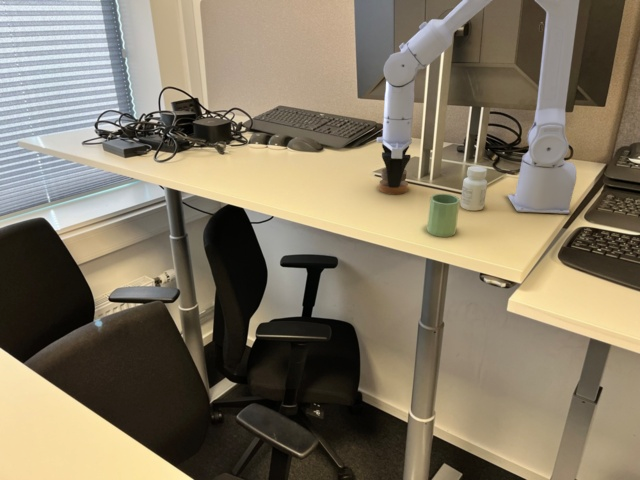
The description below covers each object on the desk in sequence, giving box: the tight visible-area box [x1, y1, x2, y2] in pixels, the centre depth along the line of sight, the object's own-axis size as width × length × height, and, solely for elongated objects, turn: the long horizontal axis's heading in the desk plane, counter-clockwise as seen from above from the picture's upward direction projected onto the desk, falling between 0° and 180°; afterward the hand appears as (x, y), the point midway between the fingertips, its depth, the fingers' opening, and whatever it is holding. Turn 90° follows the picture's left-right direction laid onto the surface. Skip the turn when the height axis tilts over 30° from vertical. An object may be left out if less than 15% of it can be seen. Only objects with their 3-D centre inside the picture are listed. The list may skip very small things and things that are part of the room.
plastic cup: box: [426, 193, 461, 238], centre depth 80 cm, size 5×5×6 cm
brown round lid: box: [380, 167, 408, 181], centre depth 98 cm, size 5×5×2 cm
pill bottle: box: [459, 165, 488, 212], centre depth 89 cm, size 4×4×8 cm
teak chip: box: [378, 178, 409, 195], centre depth 99 cm, size 6×6×2 cm
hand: (393, 181), depth 99 cm, fingers closed on brown round lid, 5 cm apart
